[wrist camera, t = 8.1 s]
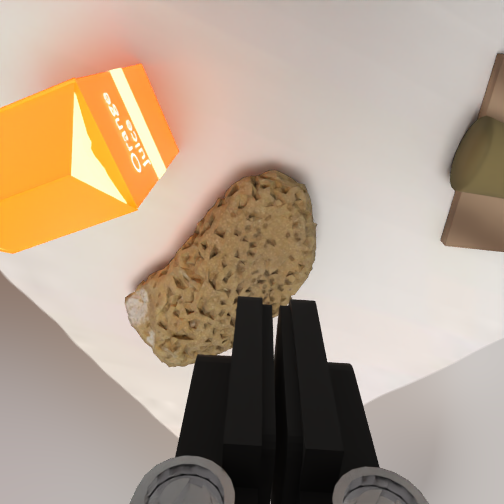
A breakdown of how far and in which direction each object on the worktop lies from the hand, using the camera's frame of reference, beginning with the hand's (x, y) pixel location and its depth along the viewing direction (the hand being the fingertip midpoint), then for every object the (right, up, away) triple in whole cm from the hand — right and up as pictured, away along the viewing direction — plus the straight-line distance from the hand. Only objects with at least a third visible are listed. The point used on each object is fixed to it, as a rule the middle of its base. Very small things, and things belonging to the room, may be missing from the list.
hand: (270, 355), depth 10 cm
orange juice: (-12, +13, +29) cm, 34 cm away
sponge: (-3, +2, +34) cm, 35 cm away
